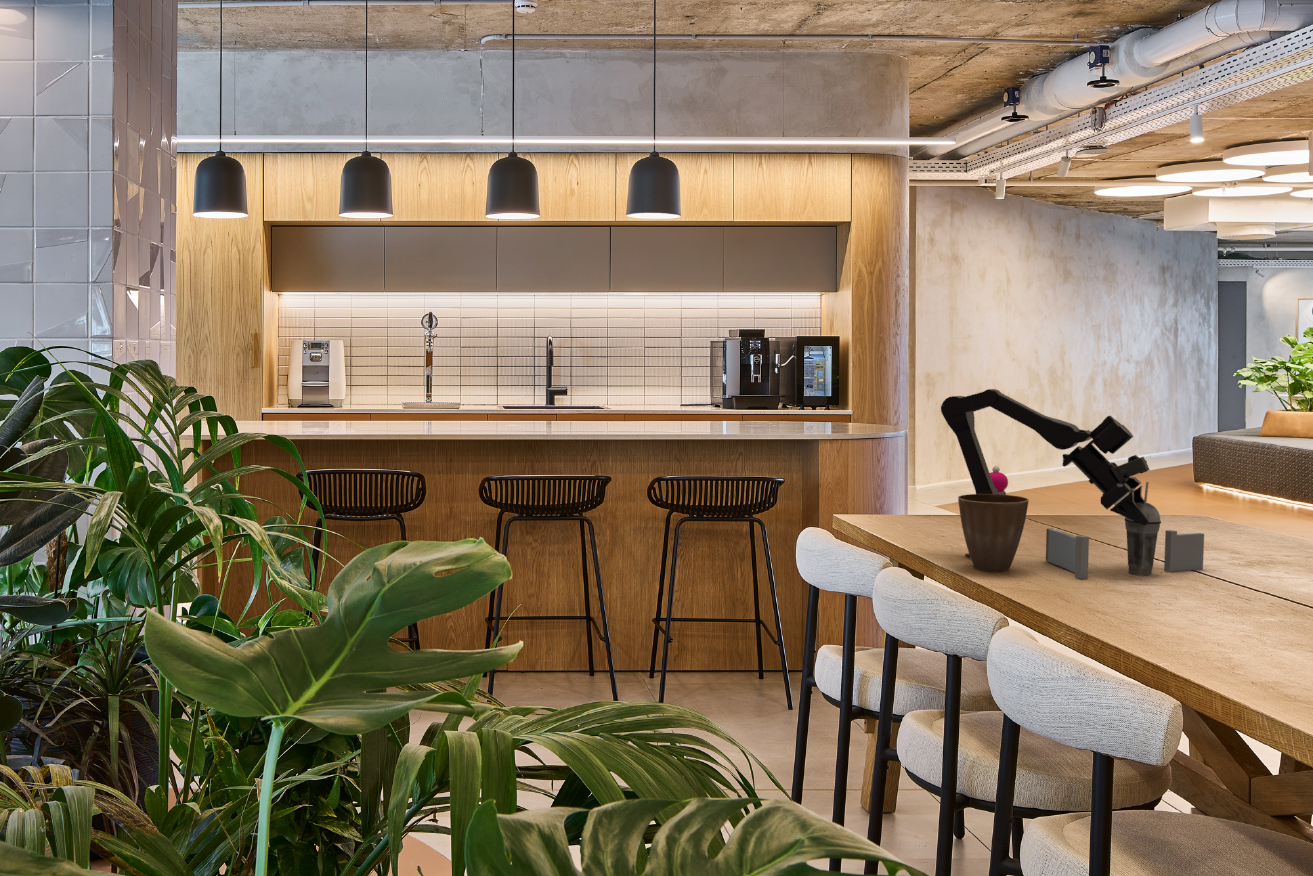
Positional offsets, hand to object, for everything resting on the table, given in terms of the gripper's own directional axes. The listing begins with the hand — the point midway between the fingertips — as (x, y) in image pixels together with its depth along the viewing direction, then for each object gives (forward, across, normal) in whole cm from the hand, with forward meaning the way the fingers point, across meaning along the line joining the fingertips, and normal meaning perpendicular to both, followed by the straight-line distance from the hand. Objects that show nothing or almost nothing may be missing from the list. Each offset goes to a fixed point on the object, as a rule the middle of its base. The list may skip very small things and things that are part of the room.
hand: (1149, 521), depth 220 cm
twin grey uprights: (+7, 0, +9) cm, 12 cm away
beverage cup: (+7, 0, +9) cm, 12 cm away
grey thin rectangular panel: (-3, -4, +19) cm, 20 cm away
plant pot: (-13, -13, +30) cm, 35 cm away
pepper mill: (-19, +22, +36) cm, 46 cm away
